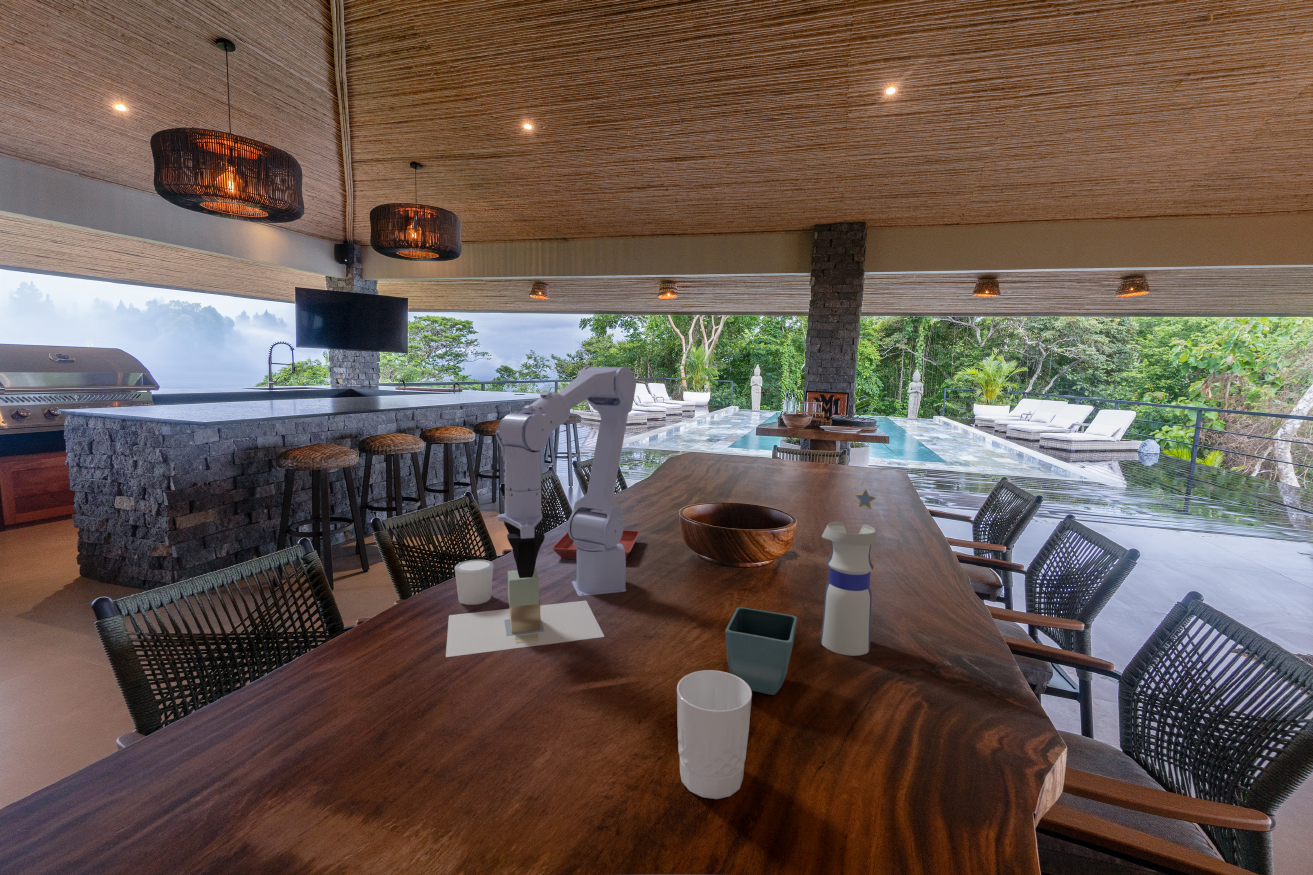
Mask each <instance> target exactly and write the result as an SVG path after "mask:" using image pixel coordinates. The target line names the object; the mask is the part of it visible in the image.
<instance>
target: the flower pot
mask: <svg viewBox="0 0 1313 875" xmlns="http://www.w3.org/2000/svg"><path fill="white" fill-rule="evenodd" d="M797 624H798V617H797V615H792V614H787V613H782V612H781V613H780V612H773V611H767V610H763V609H762V610H761V609H755V608H751V607H750V608H749V607H742V606H738V607H736V609H735V610H734V613H733V615H732V616H731V619H730V620H729V622H728V625H726V627H725V630H724V631H725V645H726V646H725V647H726V660H727V665H728V668H729V672H730V674H733V675H735V676H737V677H739V678H741V679H742V680H744V681H745V682H746V683H747V684H748V685H749V687H750V688H751V691H752V692H757V693H762V694H765V695H771V696H774V695H776V694H777V693H778V692H779V690H780V689H781V687H783V684H784V682H785V680H786V676H787V673H788V669H789V664H790V660H791V655H792V652H793V647H794V643H795V642H794V641H795V635H796V629H797Z"/></svg>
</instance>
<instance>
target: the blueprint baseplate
mask: <svg viewBox="0 0 1313 875" xmlns="http://www.w3.org/2000/svg"><path fill="white" fill-rule="evenodd" d="M447 622H448V624H447V635H446V636H447V637H446V649H445V658H452V657H459V656H469V655H474V654H483V653H484V654H485V653H490V652H491V653H492V652H497V651H498V652H500V651H506V650H507V651H508V650H513V649H521V648H530V647H537V646H545V645H552V644H553V645H554V644H561V643H570V642H576V641H577V642H578V641H583V640H590V639H591V640H592V639H599V638H605V634H604V632H603V631H602V629H601V627H600V625H599V623H598V621H597V619H596V617H595V615H594V613H593V611H592V609H591V607H590V605H589V603H588V601H587V600H581V601H580V600H578V601H569V602H561V603H553V604H552V603H551V604H550V603H549V604H542V605H541V604H540V630H531V631H523V632H515V633H512V632H511V626H510V608H504V609H497V610H486V611H478V612H469V613H468V612H467V613H458V614H449V615H448V621H447Z"/></svg>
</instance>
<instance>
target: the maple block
mask: <svg viewBox="0 0 1313 875" xmlns="http://www.w3.org/2000/svg"><path fill="white" fill-rule="evenodd" d="M540 605H541V601H540V600H539V604H533V605H524V606H514V607H510V606H509V609H510V626H511V632H512V633H515V632H523V631H531V630H540Z"/></svg>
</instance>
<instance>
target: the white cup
mask: <svg viewBox="0 0 1313 875" xmlns="http://www.w3.org/2000/svg"><path fill="white" fill-rule="evenodd" d="M752 697H753V691H751V688H750V687H749V685H748V684H747V683H746V682H745V681H744V680H742V679H741V678H739V677H737V676H735V675H733V674H731V673H729V672H726V671H722V670H721V671H720V670H714V669H713V670H712V669H709V670H708V669H707V670H696V671H694V672H691V673H688V674H687V675H684V676H683V677H682V678H681V679H680V680H679V681H678V682H677V686H676V705H677V706H676V710H677V714H676V715H677V716H676V718H677V723H676V724H677V725H676V726H677V743H678V744H677V745H678V746H677V748H678V749H677V750H678V755H679V775H680V780H681V783H682V785H684V786H685V787H686V789H687V790H688V791H689V792H690V793H693V794H694V795H696V796H699V797H701V798H705V799H713V800H719V799H724V798H727V797H728V798H729V797H731V796H732V795H734V794H735V793H736V792H738V791H739V790H740V789H741V786H742V783H743V780H744V774H745V773H744V772H745V770H744V769H745V762H746V757H747V747H748V739H749V732H750V721H751V720H750V719H751V718H750V717H751V708H752Z"/></svg>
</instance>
